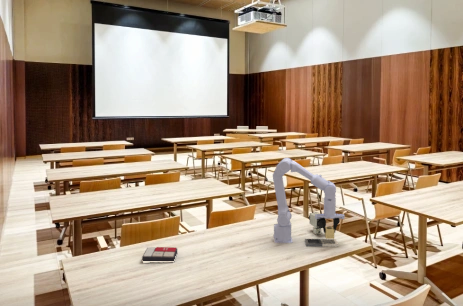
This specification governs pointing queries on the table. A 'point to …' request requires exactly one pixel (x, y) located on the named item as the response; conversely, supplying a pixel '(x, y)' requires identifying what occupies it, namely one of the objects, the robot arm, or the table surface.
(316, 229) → the pneumatic valve
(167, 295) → the table surface
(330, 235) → the brass cube with hole
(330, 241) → the tray
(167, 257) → the grey and red box
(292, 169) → the robot arm
